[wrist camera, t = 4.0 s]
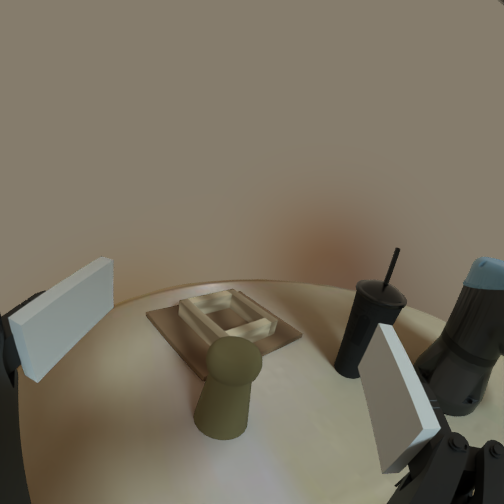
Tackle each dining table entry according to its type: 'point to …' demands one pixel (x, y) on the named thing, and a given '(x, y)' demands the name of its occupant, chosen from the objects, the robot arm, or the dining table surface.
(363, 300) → the drinking cup
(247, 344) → the olive green peg doll
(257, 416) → the dining table surface
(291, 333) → the well board
